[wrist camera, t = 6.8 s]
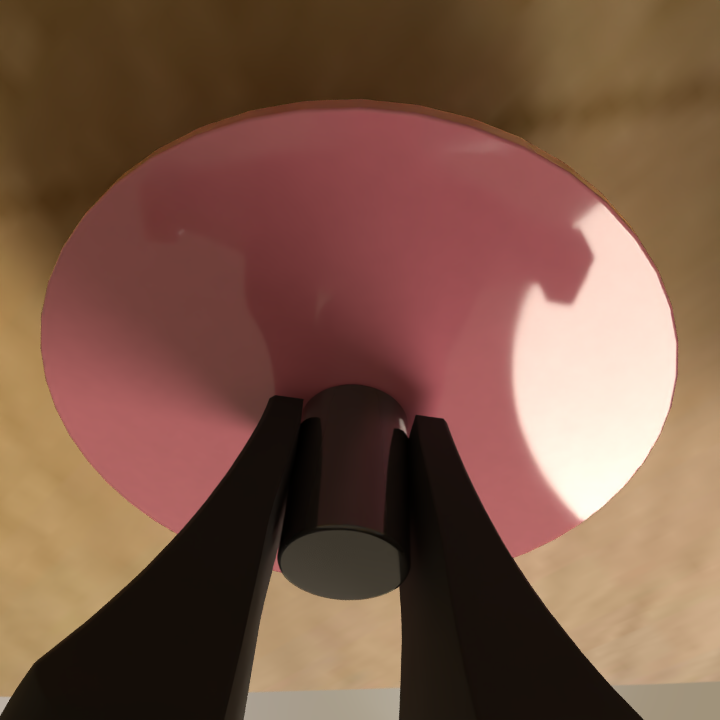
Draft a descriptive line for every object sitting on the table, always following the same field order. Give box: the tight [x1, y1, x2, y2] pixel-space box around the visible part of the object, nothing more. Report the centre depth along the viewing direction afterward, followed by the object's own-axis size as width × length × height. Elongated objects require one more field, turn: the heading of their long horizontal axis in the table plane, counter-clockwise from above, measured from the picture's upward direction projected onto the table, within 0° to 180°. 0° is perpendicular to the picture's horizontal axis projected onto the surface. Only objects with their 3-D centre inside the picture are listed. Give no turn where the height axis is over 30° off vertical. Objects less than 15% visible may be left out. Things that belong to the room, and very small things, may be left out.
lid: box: [41, 99, 678, 600], centre depth 13 cm, size 14×14×5 cm
